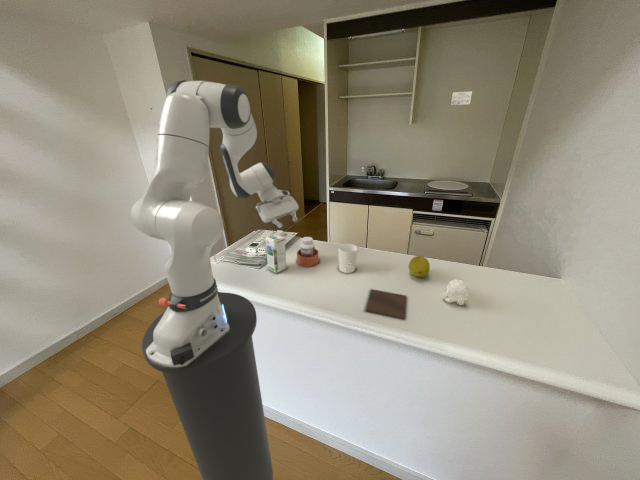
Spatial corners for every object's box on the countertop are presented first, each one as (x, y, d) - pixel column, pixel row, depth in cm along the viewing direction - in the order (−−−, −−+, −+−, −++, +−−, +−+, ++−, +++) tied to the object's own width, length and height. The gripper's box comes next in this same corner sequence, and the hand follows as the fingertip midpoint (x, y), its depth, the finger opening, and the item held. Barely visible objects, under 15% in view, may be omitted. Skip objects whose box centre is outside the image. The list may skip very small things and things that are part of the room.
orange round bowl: (314, 268, 108) (314, 258, 106) (293, 264, 111) (293, 255, 109) (321, 258, 116) (321, 249, 114) (301, 254, 119) (301, 246, 117)
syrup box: (267, 269, 108) (264, 237, 102) (278, 263, 112) (275, 233, 106) (276, 273, 104) (273, 241, 98) (287, 268, 109) (285, 236, 102)
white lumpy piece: (449, 283, 82) (447, 268, 93) (444, 305, 85) (442, 288, 96) (471, 287, 80) (466, 271, 91) (465, 310, 83) (461, 292, 94)
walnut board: (404, 319, 80) (404, 318, 80) (365, 311, 83) (365, 309, 83) (405, 296, 90) (405, 295, 90) (371, 290, 94) (371, 289, 93)
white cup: (333, 268, 108) (334, 247, 104) (347, 262, 113) (348, 241, 108) (346, 276, 103) (347, 254, 98) (360, 269, 107) (361, 248, 103)
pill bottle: (308, 256, 118) (308, 234, 113) (317, 261, 114) (317, 238, 109) (298, 261, 114) (297, 238, 109) (307, 266, 110) (306, 243, 105)
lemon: (409, 267, 109) (412, 250, 105) (429, 271, 105) (432, 254, 102) (404, 279, 100) (407, 261, 97) (425, 285, 97) (429, 266, 93)
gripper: (256, 200, 105) (274, 227, 104) (290, 190, 120) (307, 214, 118) (250, 208, 109) (268, 234, 108) (284, 198, 124) (300, 221, 123)
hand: (288, 224), depth 113 cm, fingers open, 8 cm apart
